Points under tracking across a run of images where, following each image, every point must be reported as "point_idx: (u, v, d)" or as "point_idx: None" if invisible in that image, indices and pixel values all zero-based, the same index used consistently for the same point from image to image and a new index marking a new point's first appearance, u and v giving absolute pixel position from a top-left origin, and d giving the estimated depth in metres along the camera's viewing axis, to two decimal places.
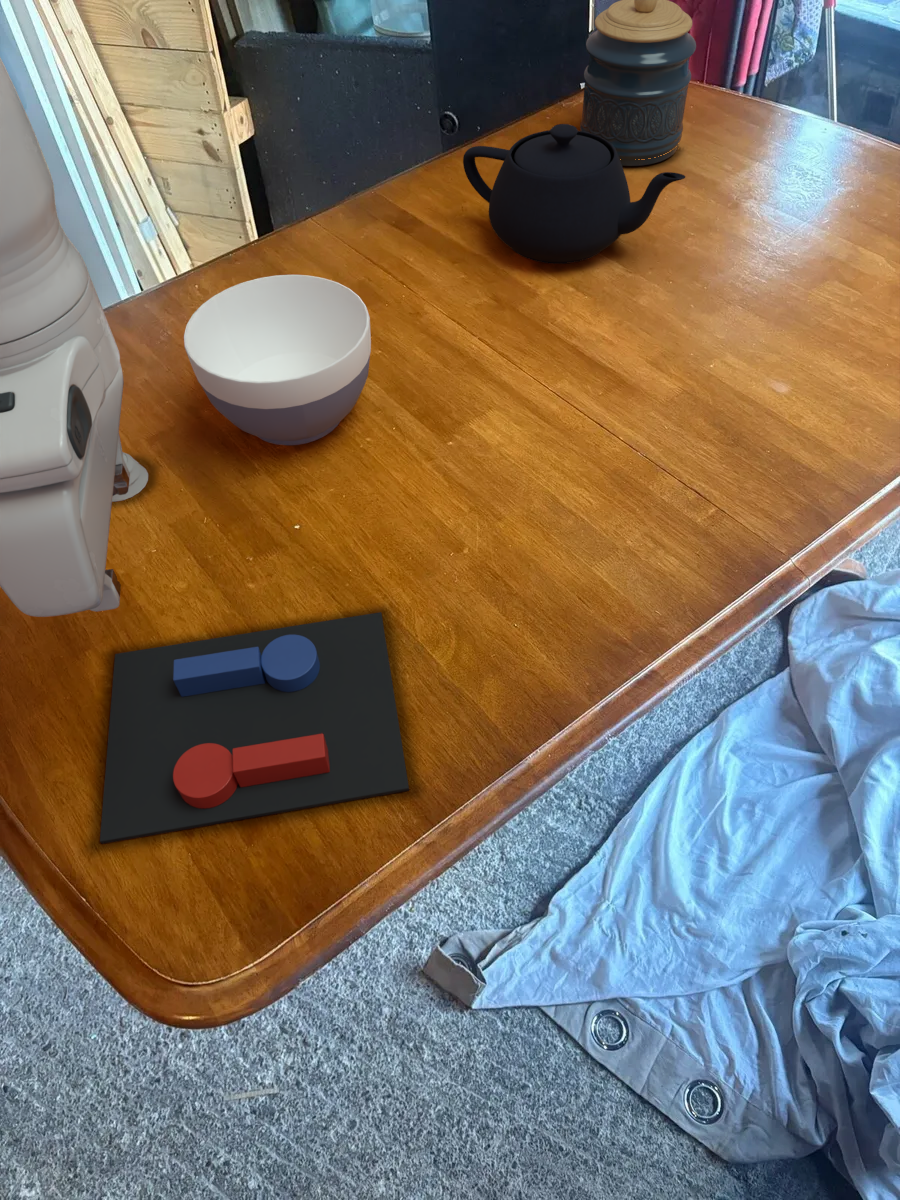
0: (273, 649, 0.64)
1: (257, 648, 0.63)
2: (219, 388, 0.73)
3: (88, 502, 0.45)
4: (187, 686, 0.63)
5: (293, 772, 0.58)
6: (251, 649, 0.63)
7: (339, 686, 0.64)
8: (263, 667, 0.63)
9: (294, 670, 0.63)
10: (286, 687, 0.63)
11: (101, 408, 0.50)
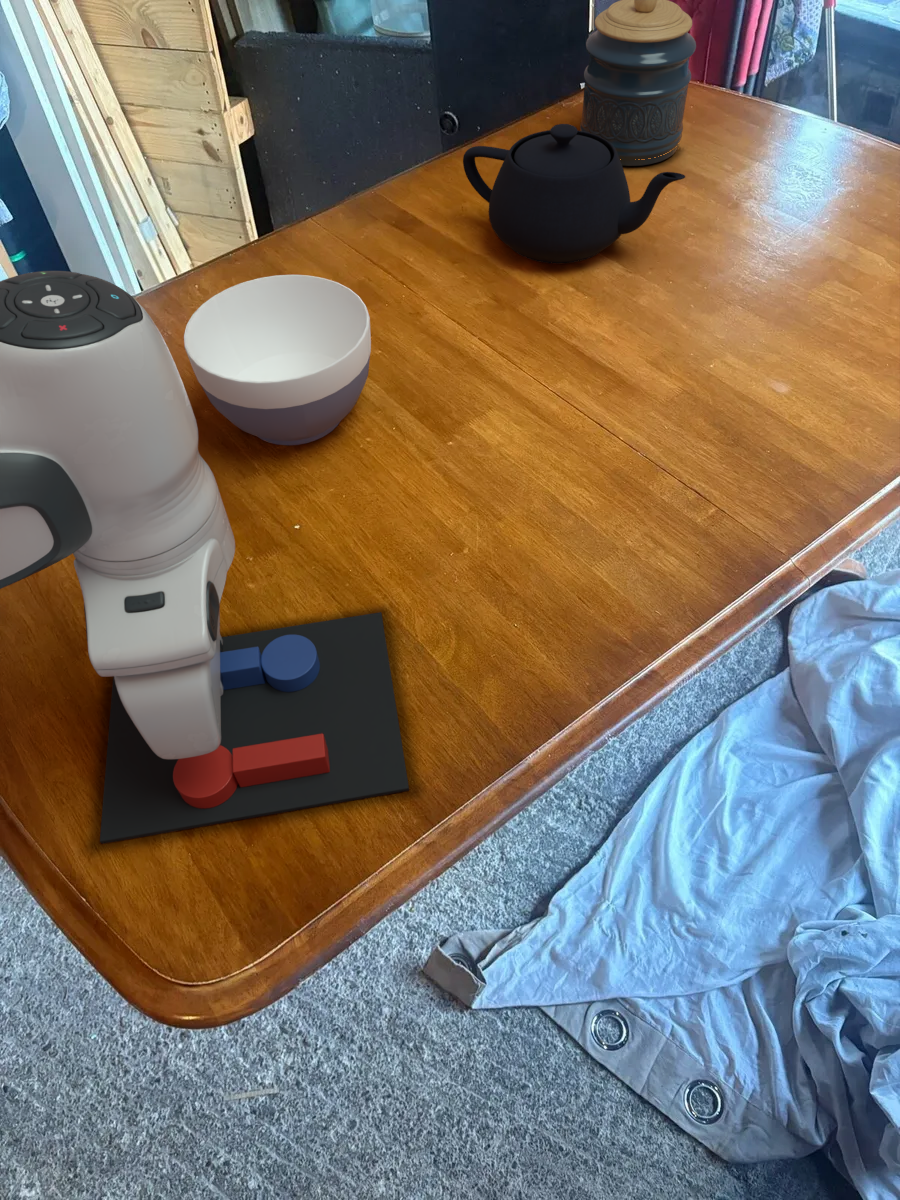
0: (273, 649, 0.64)
1: (257, 648, 0.63)
2: (219, 388, 0.73)
3: None
4: None
5: (293, 772, 0.58)
6: (251, 649, 0.63)
7: (339, 686, 0.64)
8: (263, 667, 0.63)
9: (294, 670, 0.63)
10: (286, 687, 0.63)
11: None
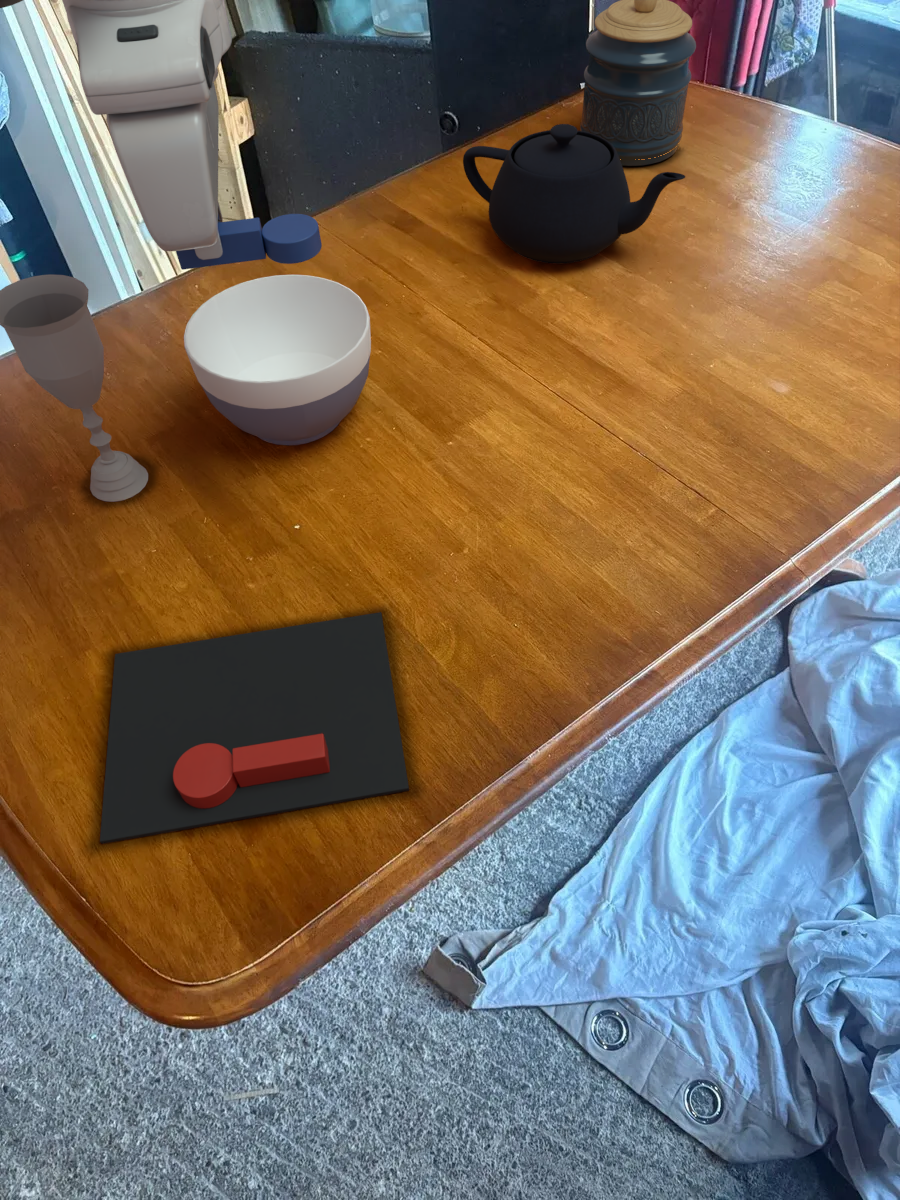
0: (274, 223, 0.63)
1: (258, 218, 0.62)
2: (219, 388, 0.73)
3: None
4: (187, 253, 0.62)
5: (293, 772, 0.58)
6: (252, 219, 0.62)
7: (339, 686, 0.64)
8: (264, 235, 0.62)
9: (295, 236, 0.62)
10: (287, 256, 0.62)
11: (208, 106, 0.58)
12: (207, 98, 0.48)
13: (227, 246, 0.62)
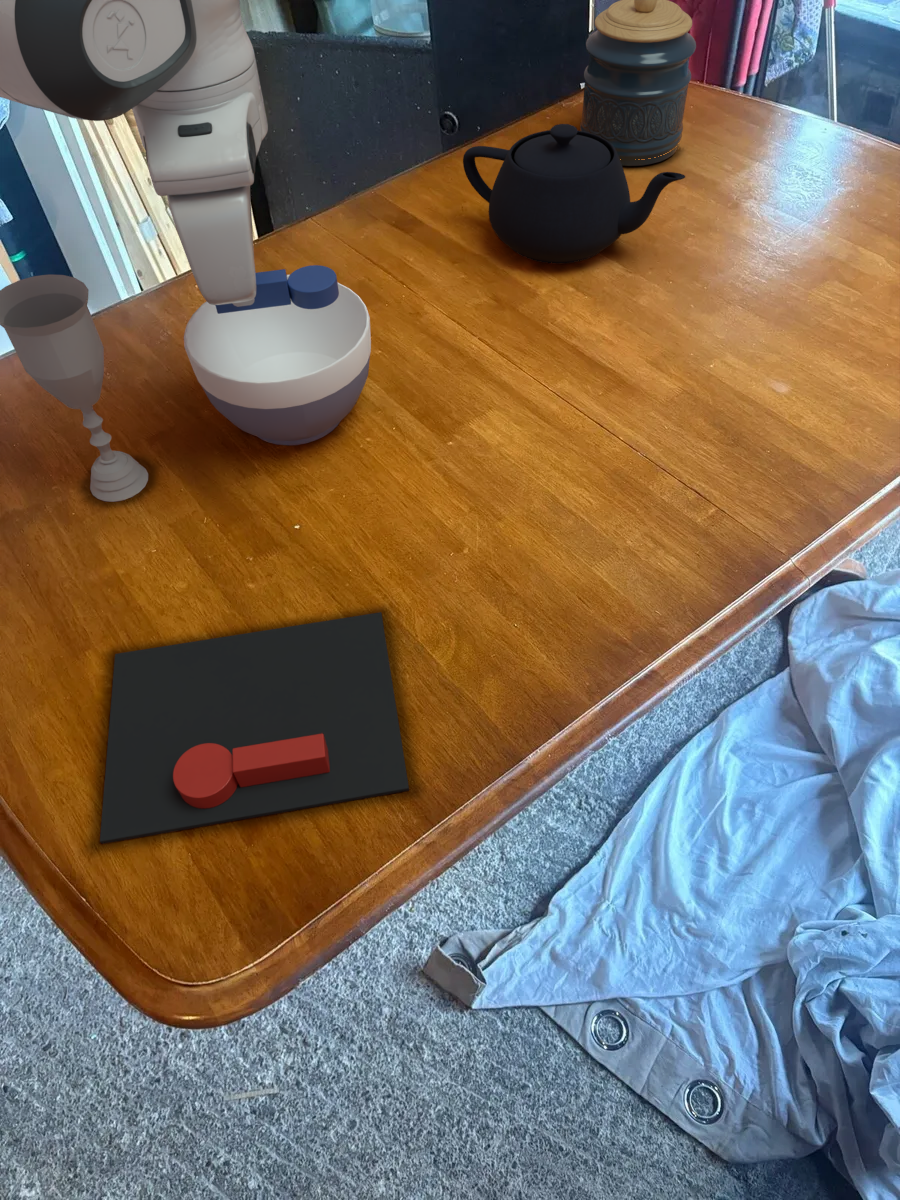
0: (298, 274, 0.73)
1: (284, 270, 0.72)
2: (219, 388, 0.73)
3: None
4: None
5: (293, 772, 0.58)
6: (279, 270, 0.72)
7: (339, 686, 0.64)
8: (289, 285, 0.72)
9: (317, 286, 0.72)
10: (310, 302, 0.72)
11: None
12: (252, 182, 0.58)
13: (258, 294, 0.72)
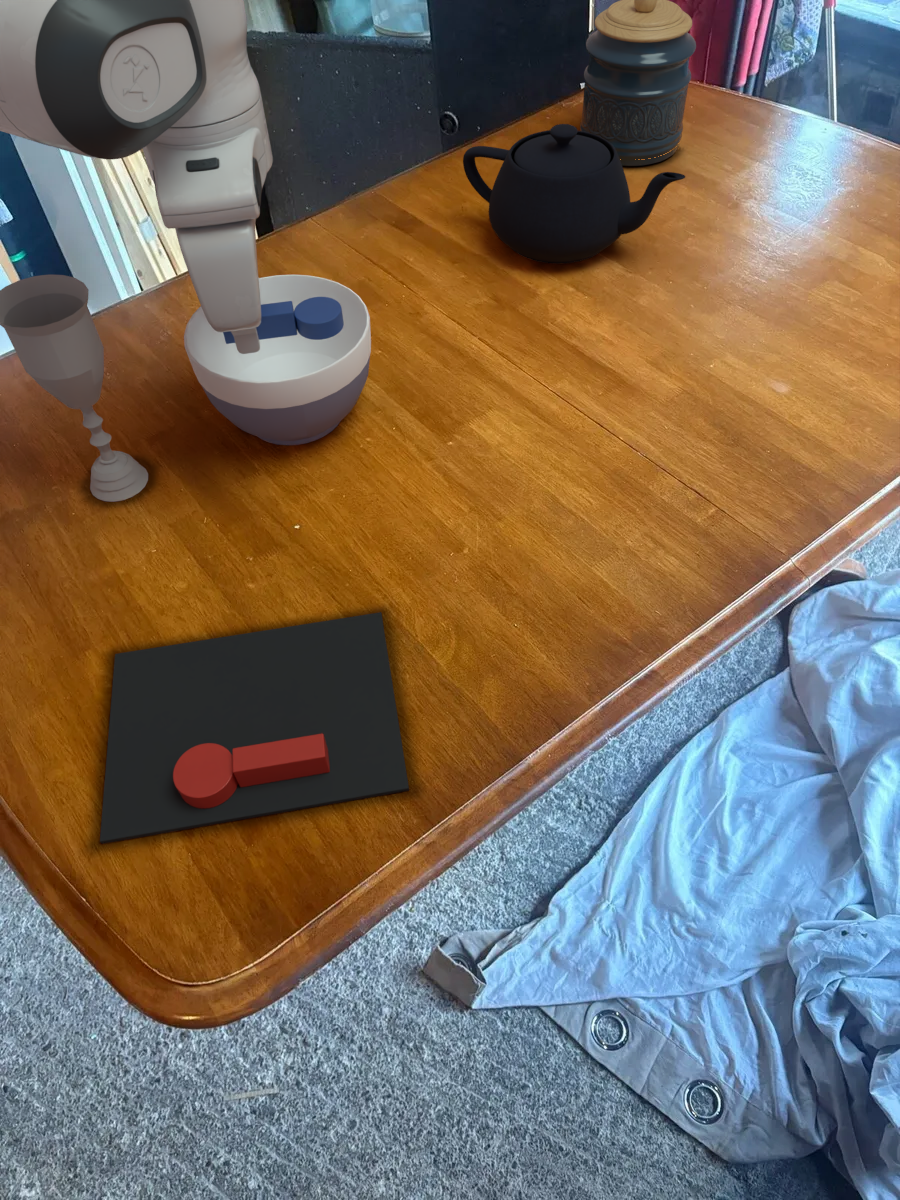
0: (304, 305, 0.75)
1: (291, 301, 0.74)
2: (219, 387, 0.73)
3: None
4: None
5: (293, 772, 0.58)
6: (286, 302, 0.74)
7: (339, 686, 0.64)
8: (296, 316, 0.74)
9: (322, 317, 0.74)
10: (315, 333, 0.74)
11: None
12: (258, 215, 0.59)
13: (265, 325, 0.74)
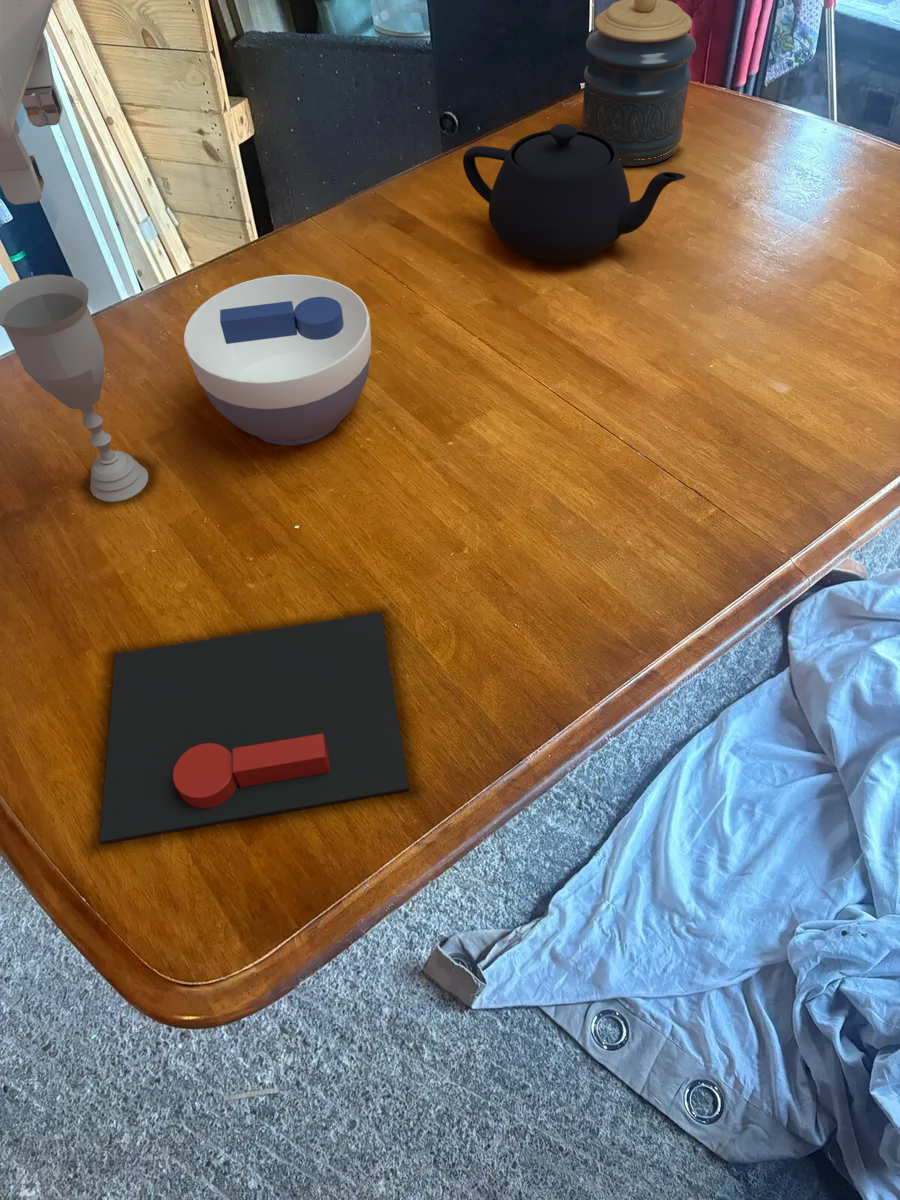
0: (304, 305, 0.75)
1: (291, 301, 0.74)
2: (219, 387, 0.73)
3: None
4: (231, 331, 0.74)
5: (293, 772, 0.58)
6: (286, 302, 0.74)
7: (339, 686, 0.64)
8: (296, 316, 0.74)
9: (322, 317, 0.74)
10: (315, 333, 0.74)
11: None
12: None
13: (265, 325, 0.74)
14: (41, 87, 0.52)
